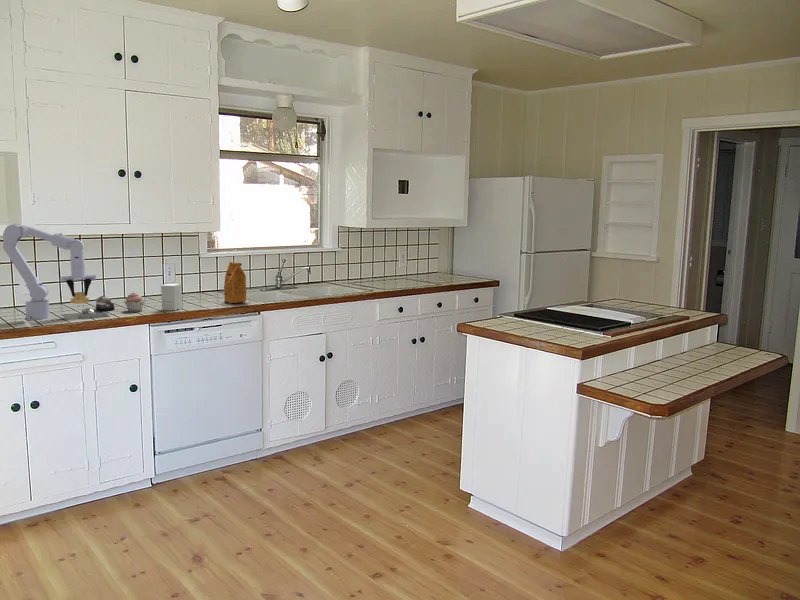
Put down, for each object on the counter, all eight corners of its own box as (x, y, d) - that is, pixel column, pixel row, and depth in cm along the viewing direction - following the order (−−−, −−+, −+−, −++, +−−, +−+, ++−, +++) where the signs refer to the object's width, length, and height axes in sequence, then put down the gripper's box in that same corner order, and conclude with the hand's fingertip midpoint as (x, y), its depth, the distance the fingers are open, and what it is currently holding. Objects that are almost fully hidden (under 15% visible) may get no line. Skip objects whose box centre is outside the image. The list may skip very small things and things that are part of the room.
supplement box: (182, 308, 344) (181, 283, 342) (174, 310, 337) (174, 285, 335) (169, 308, 345) (168, 283, 343) (161, 310, 338) (160, 285, 336)
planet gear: (72, 304, 306) (72, 294, 305) (69, 302, 312) (69, 292, 311) (90, 303, 310) (89, 293, 309) (86, 301, 316) (86, 291, 315)
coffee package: (238, 300, 375) (238, 260, 372) (248, 303, 366) (247, 262, 362) (221, 301, 369) (220, 261, 366) (231, 304, 359) (230, 263, 356)
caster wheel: (107, 318, 326) (89, 314, 329) (122, 310, 337) (104, 306, 339) (106, 306, 324) (88, 301, 326) (121, 298, 334) (104, 294, 336)
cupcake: (132, 309, 340) (131, 289, 338) (148, 310, 338) (147, 290, 336) (120, 312, 331) (119, 291, 329) (137, 313, 329) (136, 292, 327)
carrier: (67, 322, 302) (67, 314, 302) (60, 316, 315) (60, 309, 315) (110, 318, 312) (110, 310, 312) (102, 313, 326) (101, 306, 325)
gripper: (61, 268, 301) (63, 298, 303) (96, 266, 309) (98, 295, 311) (59, 266, 307) (60, 296, 309) (93, 265, 315) (95, 294, 317)
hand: (79, 296), depth 310 cm, fingers closed on planet gear, 5 cm apart
